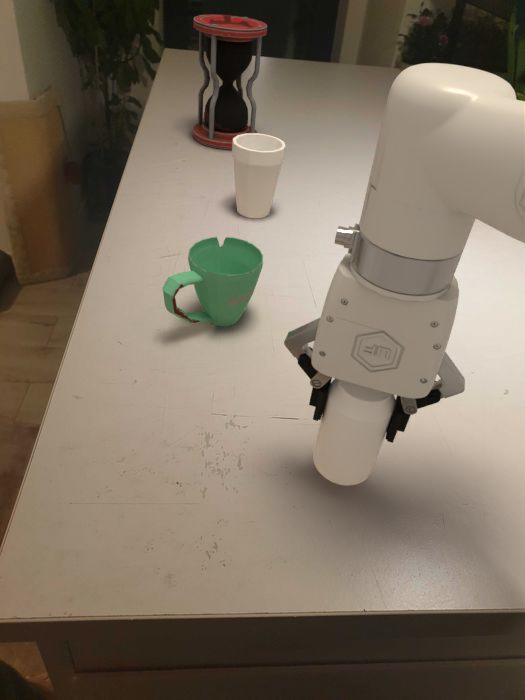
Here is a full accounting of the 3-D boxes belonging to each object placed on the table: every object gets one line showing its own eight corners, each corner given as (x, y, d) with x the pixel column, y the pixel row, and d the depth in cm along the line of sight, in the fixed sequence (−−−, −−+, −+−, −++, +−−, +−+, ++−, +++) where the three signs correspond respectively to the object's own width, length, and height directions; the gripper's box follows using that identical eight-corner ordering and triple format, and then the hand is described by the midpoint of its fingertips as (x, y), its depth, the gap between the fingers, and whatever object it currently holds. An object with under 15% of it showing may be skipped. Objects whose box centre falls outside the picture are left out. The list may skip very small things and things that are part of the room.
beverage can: (302, 448, 56) (320, 364, 48) (354, 437, 58) (380, 354, 50) (325, 496, 51) (349, 413, 44) (381, 483, 53) (414, 400, 46)
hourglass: (268, 136, 134) (279, 23, 118) (239, 155, 122) (247, 32, 106) (212, 122, 138) (216, 11, 122) (179, 139, 127) (178, 18, 111)
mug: (225, 288, 80) (229, 229, 74) (271, 319, 75) (279, 259, 69) (145, 324, 72) (141, 261, 65) (190, 362, 67) (190, 298, 60)
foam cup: (279, 204, 105) (288, 137, 96) (274, 225, 98) (283, 155, 89) (232, 197, 105) (236, 130, 97) (224, 217, 98) (228, 147, 90)
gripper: (277, 253, 37) (256, 422, 49) (530, 313, 34) (444, 478, 46) (302, 210, 43) (278, 372, 54) (522, 259, 40) (447, 419, 51)
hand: (354, 419), depth 50 cm, fingers closed on beverage can, 6 cm apart
